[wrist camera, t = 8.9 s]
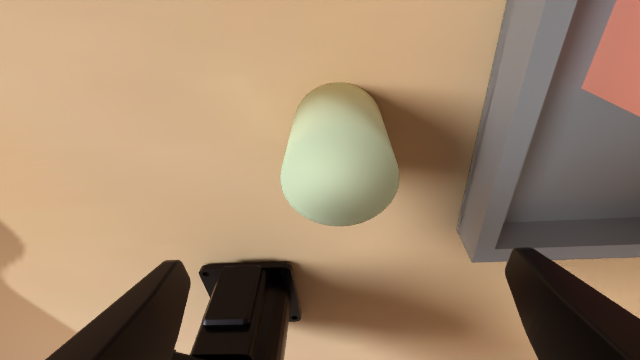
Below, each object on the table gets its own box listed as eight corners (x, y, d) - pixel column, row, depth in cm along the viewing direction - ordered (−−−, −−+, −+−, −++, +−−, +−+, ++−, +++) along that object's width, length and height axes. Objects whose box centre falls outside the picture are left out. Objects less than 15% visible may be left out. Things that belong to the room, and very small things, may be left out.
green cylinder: (380, 160, 17) (396, 223, 13) (299, 165, 17) (289, 228, 13) (382, 78, 14) (403, 124, 10) (288, 85, 15) (271, 132, 10)
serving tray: (664, 221, 18) (708, 255, 16) (456, 229, 19) (471, 262, 17) (915, -128, 10) (1075, -153, 8) (525, -84, 11) (573, -96, 9)
